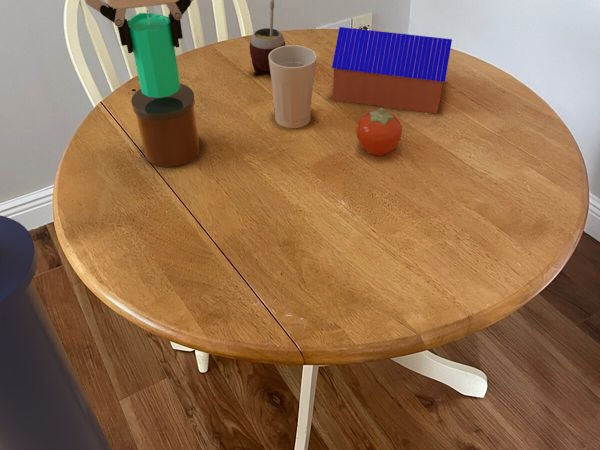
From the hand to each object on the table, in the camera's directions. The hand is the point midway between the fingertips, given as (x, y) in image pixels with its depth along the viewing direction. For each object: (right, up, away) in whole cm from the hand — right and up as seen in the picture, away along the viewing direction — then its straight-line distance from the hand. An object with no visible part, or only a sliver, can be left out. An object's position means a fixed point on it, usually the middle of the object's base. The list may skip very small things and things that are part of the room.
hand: (153, 45), depth 85 cm
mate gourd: (+15, +5, +33) cm, 37 cm away
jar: (0, -14, +13) cm, 19 cm away
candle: (0, -5, +5) cm, 7 cm away
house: (+38, -1, +27) cm, 47 cm away
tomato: (+34, -14, +14) cm, 39 cm away
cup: (+20, -7, +20) cm, 29 cm away
